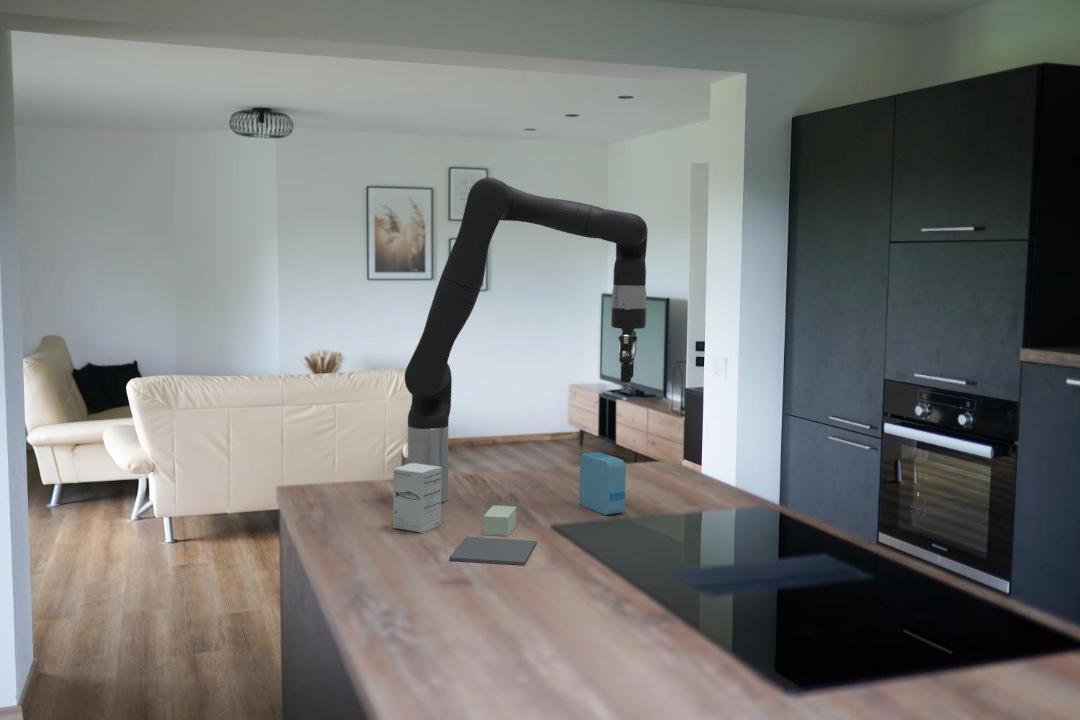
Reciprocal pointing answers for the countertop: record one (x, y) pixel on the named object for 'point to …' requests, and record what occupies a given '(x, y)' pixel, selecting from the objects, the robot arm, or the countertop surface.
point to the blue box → (602, 483)
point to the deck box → (499, 520)
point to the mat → (493, 551)
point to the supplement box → (417, 497)
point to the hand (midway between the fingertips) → (627, 379)
